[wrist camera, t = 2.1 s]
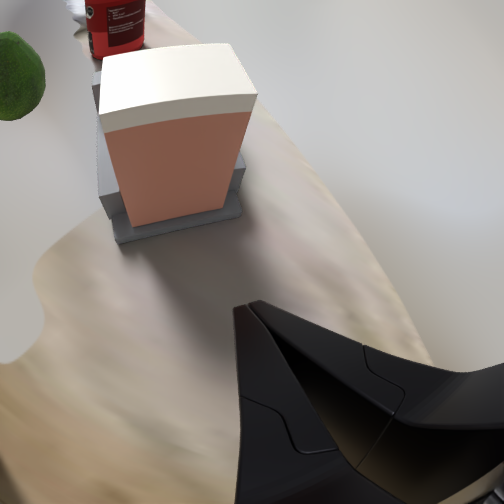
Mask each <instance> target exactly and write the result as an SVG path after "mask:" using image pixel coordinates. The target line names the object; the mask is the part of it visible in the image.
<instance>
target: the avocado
mask: <svg viewBox="0 0 504 504" xmlns="http://www.w3.org/2000/svg"><path fill="white" fill-rule="evenodd" d="M45 86H46V85H45V69H44V66H43V64H42V61H41V59H40V57H39V55H38V54H37V53H36V52H35V51H34V50H33V48H32V47H31V46H30V45H28V43H26V42H25V41H24V40H23V39H22V38H21V37H20V36H19V35H17V34H16V33H14V32H10V31H8V32H2V33H0V120H4V121H13V120H16V119H21V118H22V117H23V116H25V115H27V114H28V113H30V112H31V111H33V109H34V108H35V107H36V106H37V105H38V104H39V102H40V100H41V98H42V96H43V93H44V90H45Z"/></svg>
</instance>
